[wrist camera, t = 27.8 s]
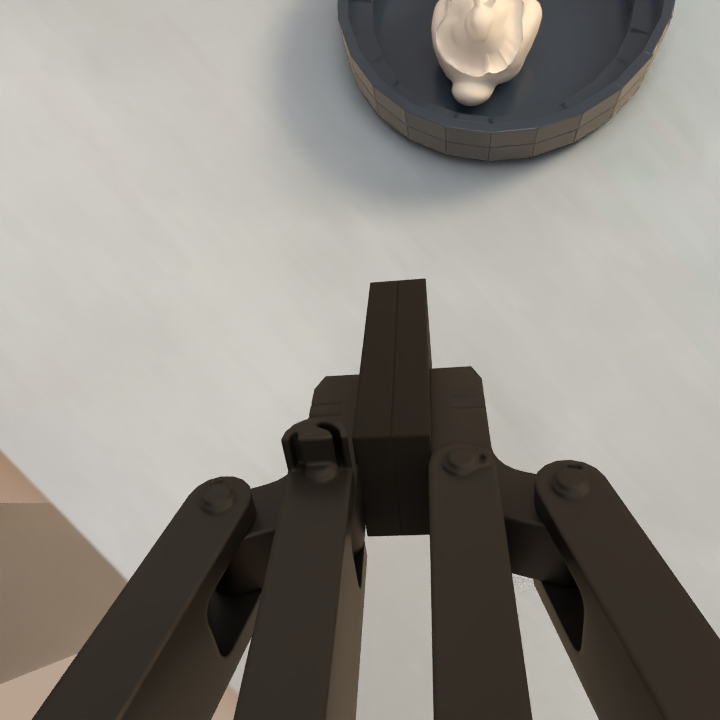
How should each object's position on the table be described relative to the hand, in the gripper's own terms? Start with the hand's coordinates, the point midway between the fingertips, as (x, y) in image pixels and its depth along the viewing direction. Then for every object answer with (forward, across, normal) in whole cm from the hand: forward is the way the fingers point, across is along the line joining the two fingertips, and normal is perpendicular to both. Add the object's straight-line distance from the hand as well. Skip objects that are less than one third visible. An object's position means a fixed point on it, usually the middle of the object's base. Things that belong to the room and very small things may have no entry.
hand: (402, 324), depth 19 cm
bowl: (+32, +6, +3) cm, 32 cm away
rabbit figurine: (+31, +6, +2) cm, 31 cm away
